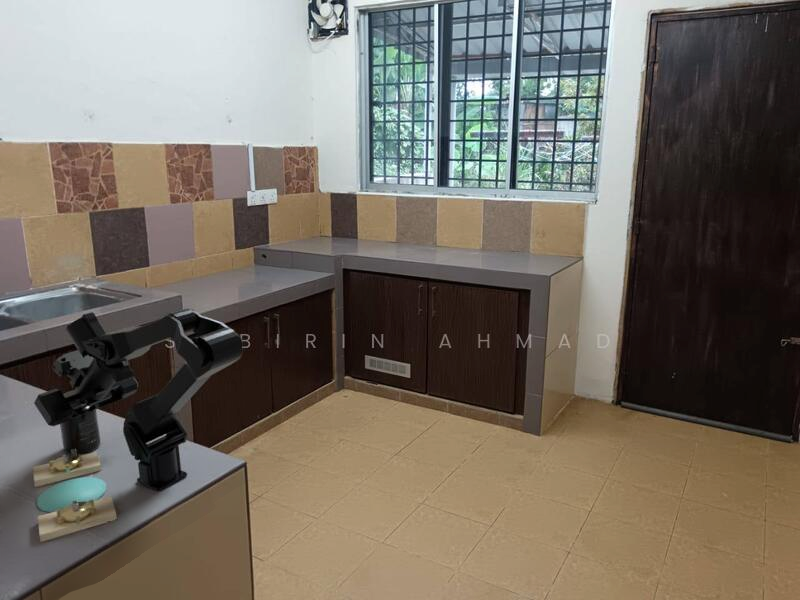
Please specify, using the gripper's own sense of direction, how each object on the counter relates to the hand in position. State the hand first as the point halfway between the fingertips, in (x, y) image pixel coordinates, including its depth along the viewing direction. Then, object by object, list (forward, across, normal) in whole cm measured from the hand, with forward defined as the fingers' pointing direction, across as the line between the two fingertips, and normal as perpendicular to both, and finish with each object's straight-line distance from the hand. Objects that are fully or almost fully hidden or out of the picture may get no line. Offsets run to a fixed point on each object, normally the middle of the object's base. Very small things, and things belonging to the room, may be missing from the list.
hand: (75, 415), depth 125 cm
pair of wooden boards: (-6, +12, +16) cm, 21 cm away
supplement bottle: (+4, 0, +6) cm, 7 cm away
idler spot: (-6, +12, +16) cm, 21 cm away
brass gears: (-7, +12, +15) cm, 20 cm away
